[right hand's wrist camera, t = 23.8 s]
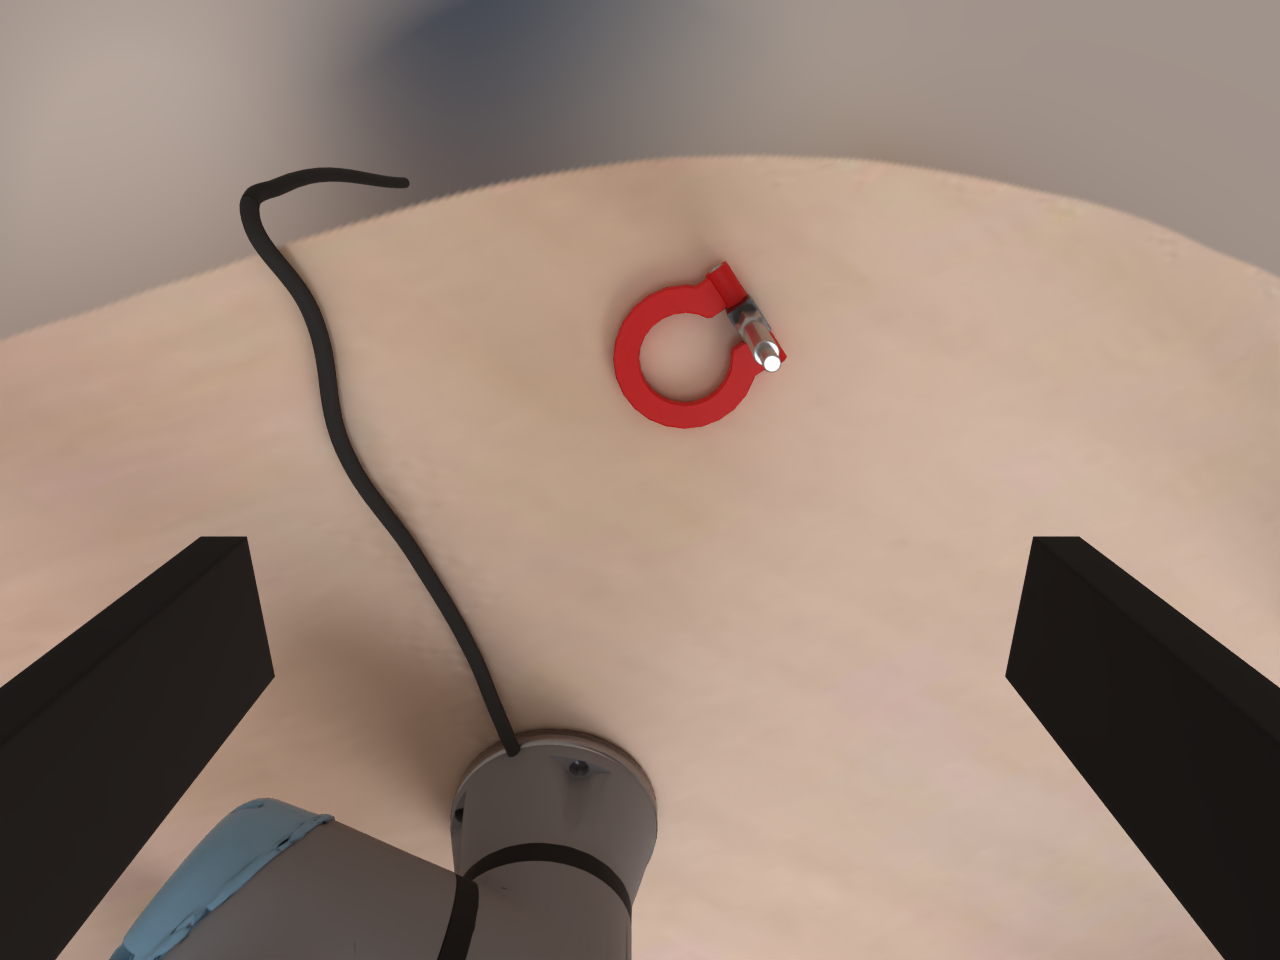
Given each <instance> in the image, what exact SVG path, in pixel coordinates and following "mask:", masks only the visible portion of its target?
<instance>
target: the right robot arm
mask: <svg viewBox="0 0 1280 960" xmlns="http://www.w3.org/2000/svg"><path fill="white" fill-rule="evenodd" d="M319 182H347V183H356V184H364V185H370V186H377V187H385V188H408V186H409V185H410V182H409V180H408V179H407V178H405V177H392V176H385V175H379V174H373V173H368V172H363V171H357V170H352V169H344V168H333V167H319V168H311V169H304V170H300V171H295V172H291V173H288V174H285V175H282V176H280V177H277V178H275V179H272V180H269V181H266V182H261V183H258V184H254V185H252V186H250V187H249V188H247V190H246V191H245V192H244V194H243V195H242V197H241V200H240V215H241V220H242V223H243V226H244V229H245V232H246V234H247V236H248V238H249V240H250V242H251V244H252V245H253V247H254V248H255V250H256V251H257V253H258V254H259V255H260V257H261V258H262V259H263V260H264V262H265V263H266V264H267V265H268V266H269V268H270V269H271V270H272V271H273V272H274V274H275V275H276V276H277V277H278V278H279V280H280V281H281V282H282V283H283V284H284V286H285V287H286V288H287V290H288V291H289V292H290V294H291V295H292V297H293V298H294V300H295V301H296V303H297V305H298V307H299V309H300V311H301V313H302V315H303V317H304V320H305V322H306V325H307V327H308V331H309V334H310V337H311V340H312V344H313V348H314V353H315V358H316V364H317V371H318V379H319V387H320V395H321V402H322V408H323V413H324V418H325V422H326V426H327V429H328V433H329V436H330V439H331V442H332V444H333V446H334V449H335V451H336V454H337V456H338V458H339V460H340V462H341V464H342V466H343V468H344V470H345V471H346V473H347V475H348V477H349V478H350V480H351V482H352V483H353V485H354V486H355V488H356V489H357V491H358V492H359V494H360V495H361V497H362V498H363V499H364V501H365V502H366V503H367V505H368V506H369V507H370V509H371V510H372V511H373V513H374V514H375V515H376V516H377V518H378V519H379V520H380V521H381V523H382V524H383V525H384V526H385V528H386V529H387V530H388V532H389V533H390V534H391V536H392V537H393V538H394V540H395V541H396V542H397V544H398V545H399V547H400V548H401V549H402V551H403V552H404V554H405V555H406V557H407V558H408V560H409V561H410V563H411V565H412V566H413V568H414V569H415V571H416V572H417V574H418V576H419V577H420V579H421V580H422V582H423V583H424V585H425V587H426V588H427V590H428V591H429V593H430V595H431V596H432V598H433V599H434V601H435V603H436V604H437V606H438V607H439V609H440V611H441V612H442V614H443V616H444V618H445V619H446V621H447V623H448V624H449V626H450V628H451V630H452V632H453V633H454V635H455V637H456V639H457V641H458V643H459V645H460V646H461V648H462V650H463V652H464V654H465V656H466V658H467V660H468V662H469V664H470V667H471V669H472V671H473V673H474V676H475V678H476V681H477V683H478V686H479V688H480V691H481V693H482V696H483V699H484V701H485V704H486V706H487V708H488V711H489V713H490V716H491V718H492V720H493V723H494V725H495V727H496V730H497V732H498V734H499V737H500V739H501V741H499V742H497V743H496V744H494V745H492V746H491V747H489V748H488V749H486V750H485V751H484V752H482V753H481V754H480V755H479V756H478V757H477V758H476V759H475V760H474V761H473V762H472V763H471V764H470V766H469V767H468V768H467V770H466V771H465V773H464V775H463V777H462V779H461V781H460V784H459V786H458V789H457V793H456V796H455V799H454V802H453V806H452V810H451V840H452V850H453V860H454V870H455V873H454V872H452V871H449V870H447V869H445V868H442V867H440V866H438V865H435V864H433V863H431V862H428V861H426V860H424V859H421V858H419V857H416V856H414V855H412V854H410V853H407V852H405V851H403V850H401V849H398V848H396V847H394V846H392V845H389V844H387V843H385V842H383V841H380V840H378V839H376V838H374V837H371V836H369V835H367V834H365V833H362V832H360V831H358V830H356V829H353V828H351V827H349V826H347V825H344V824H342V823H340V822H338V821H335V818H334V816H332V815H329V814H321V815H318V814H315V813H312V812H309V811H307V810H304V809H301V808H299V807H296V806H293V805H290V804H288V803H285V802H282V801H280V800H276V799H271V798H260V799H255V800H252V801H249V802H247V803H244V804H243V805H241V806H239V807H237V808H236V809H235V810H233V811H232V812H231V813H229V814H228V815H227V816H226V817H225V818H224V819H223V820H221V821H220V822H219V823H218V824H217V825H216V826H215V827H214V828H213V829H212V830H211V831H210V832H209V833H208V834H207V835H206V837H205V838H204V839H203V840H202V841H201V842H200V843H199V844H198V845H197V847H196V848H195V849H194V850H193V851H192V852H191V853H190V854H189V856H188V857H187V858H186V859H185V860H184V861H183V863H182V864H181V865H180V866H179V867H178V869H177V870H176V871H175V872H174V873H173V875H172V876H171V877H170V878H169V879H168V881H167V882H166V883H165V884H164V886H163V887H162V888H161V889H160V891H159V892H158V893H157V894H156V896H155V897H154V898H153V899H152V901H151V902H150V903H149V904H148V906H147V907H146V908H145V910H144V911H143V912H142V913H141V915H140V916H139V917H138V919H137V920H136V921H135V923H134V924H133V926H132V927H131V928H130V930H129V931H128V932H127V934H126V935H125V937H124V940H123V943H122V945H121V946H119V947H118V948H117V949H116V951H115V952H114V953H113V955H112V956H111V958H110V959H109V960H631V916H632V905H633V902H634V900H635V897H636V894H637V892H638V889H639V886H640V883H641V880H642V877H643V874H644V871H645V869H646V866H647V864H648V862H649V860H650V858H651V856H652V853H653V850H654V846H655V842H656V838H657V805H656V798H655V794H654V791H653V788H652V786H651V783H650V782H649V780H648V778H647V776H646V775H645V773H644V772H643V770H642V769H641V768H640V767H639V765H638V764H637V763H636V762H635V761H634V760H633V759H632V758H631V757H630V756H628V755H627V754H626V753H624V752H623V751H622V750H620V749H619V748H617V747H616V746H614V745H612V744H610V743H608V742H606V741H604V740H602V739H600V738H597V737H594V736H591V735H588V734H585V733H580V732H576V731H569V730H557V729H549V730H536V731H530V732H524V733H521V734H517V735H515V734H514V732H513V730H512V727H511V725H510V723H509V720H508V718H507V716H506V713H505V711H504V708H503V706H502V704H501V701H500V699H499V696H498V694H497V691H496V689H495V686H494V683H493V681H492V678H491V676H490V673H489V671H488V668H487V666H486V664H485V661H484V659H483V657H482V655H481V653H480V651H479V649H478V647H477V645H476V643H475V641H474V639H473V637H472V635H471V633H470V631H469V629H468V628H467V626H466V624H465V622H464V620H463V618H462V617H461V615H460V613H459V611H458V610H457V608H456V606H455V604H454V603H453V601H452V599H451V598H450V596H449V594H448V593H447V591H446V590H445V588H444V586H443V585H442V583H441V581H440V580H439V578H438V577H437V575H436V573H435V572H434V570H433V569H432V567H431V565H430V564H429V562H428V561H427V559H426V557H425V556H424V554H423V553H422V551H421V550H420V548H419V546H418V545H417V543H416V542H415V540H414V539H413V538H412V536H411V535H410V533H409V532H408V531H407V529H406V528H405V527H404V525H403V524H402V523H401V521H400V520H399V519H398V517H397V516H396V515H395V513H394V512H393V511H392V510H391V508H390V507H389V506H388V504H387V503H386V502H385V501H384V499H383V498H382V497H381V495H380V494H379V493H378V491H377V490H376V488H375V487H374V486H373V484H372V483H371V481H370V480H369V478H368V476H367V475H366V473H365V471H364V470H363V468H362V466H361V464H360V463H359V461H358V459H357V457H356V455H355V453H354V450H353V448H352V446H351V444H350V441H349V439H348V436H347V433H346V430H345V426H344V423H343V419H342V414H341V409H340V403H339V396H338V388H337V380H336V371H335V364H334V358H333V352H332V347H331V343H330V339H329V335H328V331H327V328H326V325H325V322H324V319H323V317H322V314H321V312H320V309H319V307H318V305H317V303H316V301H315V299H314V297H313V295H312V294H311V292H310V290H309V289H308V287H307V286H306V284H305V283H304V282H303V280H302V279H301V278H300V276H299V275H298V274H297V272H296V271H295V270H294V269H293V267H292V266H291V265H290V264H289V263H288V261H287V260H286V259H285V258H284V257H283V255H282V254H281V253H280V252H279V250H278V249H277V248H276V247H275V245H274V244H273V242H272V241H271V240H270V238H269V237H268V235H267V233H266V231H265V229H264V227H263V225H262V223H261V219H260V212H259V209H260V204H261V203H262V202H264V201H266V200H268V199H271V198H275V197H278V196H281V195H283V194H285V193H288V192H290V191H292V190H294V189H297V188H299V187H302V186H306V185H309V184H313V183H319ZM274 677H275V675H274V670H273V665H272V660H271V655H270V650H269V645H268V640H267V635H266V630H265V625H264V620H263V615H262V610H261V605H260V600H259V595H258V590H257V585H256V580H255V575H254V570H253V565H252V560H251V555H250V550H249V545H248V540H247V537H200V538H198V539H197V540H196V541H194V542H193V543H192V544H190V545H189V546H188V547H186V548H185V549H184V550H182V551H181V552H180V553H178V554H177V555H176V556H174V557H173V558H172V559H170V560H169V561H168V562H166V563H165V564H164V565H163V566H161V567H160V568H159V569H157V570H156V571H155V572H153V573H152V574H151V575H149V576H148V577H147V578H145V579H144V580H143V581H141V582H140V583H139V584H137V585H136V586H135V587H133V588H132V589H131V590H129V591H128V592H127V593H125V594H124V595H123V596H121V597H120V598H119V599H117V600H116V601H115V602H113V603H112V604H111V605H109V606H108V607H107V608H106V609H104V610H103V611H102V612H100V613H99V614H98V615H96V616H95V617H94V618H92V619H91V620H90V621H88V622H87V623H86V624H84V625H83V626H82V627H80V628H79V629H78V630H76V631H75V632H74V633H72V634H71V635H70V636H68V637H67V638H66V639H64V640H63V641H62V642H60V643H59V644H58V645H56V646H55V647H54V648H53V649H51V650H50V651H49V652H47V653H46V654H45V655H43V656H42V657H41V658H39V659H38V660H37V661H35V662H34V663H33V664H31V665H30V666H29V667H27V668H26V669H25V670H23V671H22V672H21V673H19V674H18V675H17V676H15V677H14V678H13V679H11V680H10V681H9V682H7V683H6V684H5V685H3V686H2V687H1V688H0V960H55V959H56V958H57V957H58V956H59V954H60V953H61V952H62V950H63V949H64V948H65V947H66V945H67V944H68V943H69V941H70V940H71V939H72V938H73V936H74V935H75V934H76V932H77V931H78V930H79V929H80V927H81V926H82V925H83V923H84V922H85V921H86V919H87V918H88V917H89V916H90V914H91V913H92V912H93V910H94V909H95V908H96V907H97V905H98V904H99V903H100V901H101V900H102V899H103V898H104V896H105V895H106V894H107V892H108V891H109V890H110V889H111V887H112V886H113V885H114V883H115V882H116V881H117V879H118V878H119V877H120V876H121V874H122V873H123V872H124V870H125V869H126V868H127V867H128V865H129V864H130V863H131V861H132V860H133V859H134V858H135V856H136V855H137V854H138V852H139V851H140V850H141V849H142V847H143V846H144V845H145V843H146V842H147V841H148V839H149V838H150V837H151V836H152V834H153V833H154V832H155V830H156V829H157V828H158V827H159V825H160V824H161V823H162V821H163V820H164V819H165V818H166V816H167V815H168V814H169V812H170V811H171V810H172V809H173V807H174V806H175V805H176V803H177V802H178V801H179V799H180V798H181V797H182V796H183V794H184V793H185V792H186V790H187V789H188V788H189V787H190V785H191V784H192V783H193V781H194V780H195V779H196V778H197V776H198V775H199V774H200V772H201V771H202V770H203V768H204V767H205V766H206V765H207V763H208V762H209V761H210V759H211V758H212V757H213V756H214V754H215V753H216V752H217V750H218V749H219V748H220V747H221V745H222V744H223V743H224V741H225V740H226V739H227V738H228V736H229V735H230V734H231V732H232V731H233V730H234V728H235V727H236V726H237V725H238V723H239V722H240V721H241V719H242V718H243V717H244V716H245V714H246V713H247V712H248V710H249V709H250V708H251V707H252V705H253V704H254V703H255V701H256V700H257V699H258V698H259V696H260V695H261V694H262V692H263V691H264V690H265V688H266V687H267V686H268V685H269V683H270V682H271V681H272V679H273V678H274ZM1005 677H1006V678H1007V679H1008V681H1009V682H1010V683H1011V685H1012V686H1013V687H1014V688H1015V690H1016V691H1017V692H1018V694H1019V695H1020V696H1021V698H1022V699H1023V700H1024V701H1025V703H1026V704H1027V705H1028V707H1029V708H1030V709H1031V710H1032V712H1033V713H1034V714H1035V716H1036V717H1037V718H1038V719H1039V721H1040V722H1041V723H1042V725H1043V726H1044V727H1045V728H1046V730H1047V731H1048V732H1049V734H1050V735H1051V736H1052V738H1053V739H1054V740H1055V741H1056V743H1057V744H1058V745H1059V747H1060V748H1061V749H1062V750H1063V752H1064V753H1065V754H1066V756H1067V757H1068V758H1069V759H1070V761H1071V762H1072V763H1073V765H1074V766H1075V767H1076V768H1077V770H1078V771H1079V772H1080V774H1081V775H1082V776H1083V778H1084V779H1085V780H1086V781H1087V783H1088V784H1089V785H1090V787H1091V788H1092V789H1093V790H1094V792H1095V793H1096V794H1097V796H1098V797H1099V798H1100V799H1101V801H1102V802H1103V803H1104V805H1105V806H1106V807H1107V809H1108V810H1109V811H1110V812H1111V814H1112V815H1113V816H1114V818H1115V819H1116V820H1117V821H1118V823H1119V824H1120V825H1121V827H1122V828H1123V829H1124V830H1125V832H1126V833H1127V834H1128V836H1129V837H1130V838H1131V839H1132V841H1133V842H1134V843H1135V845H1136V846H1137V847H1138V849H1139V850H1140V851H1141V852H1142V854H1143V855H1144V856H1145V858H1146V859H1147V860H1148V861H1149V863H1150V864H1151V865H1152V867H1153V868H1154V869H1155V870H1156V872H1157V873H1158V874H1159V876H1160V877H1161V878H1162V879H1163V881H1164V882H1165V883H1166V885H1167V886H1168V887H1169V889H1170V890H1171V891H1172V892H1173V894H1174V895H1175V896H1176V898H1177V899H1178V900H1179V901H1180V903H1181V904H1182V905H1183V907H1184V908H1185V909H1186V910H1187V912H1188V913H1189V914H1190V916H1191V917H1192V918H1193V919H1194V921H1195V922H1196V923H1197V925H1198V926H1199V927H1200V929H1201V930H1202V931H1203V932H1204V934H1205V935H1206V936H1207V938H1208V939H1209V940H1210V941H1211V943H1212V944H1213V945H1214V947H1215V948H1216V949H1217V950H1218V952H1219V953H1220V954H1221V956H1222V957H1223V958H1224V959H1225V960H1280V688H1279V687H1278V686H1277V685H1275V684H1274V683H1273V682H1271V681H1270V680H1269V679H1267V678H1266V677H1265V676H1263V675H1262V674H1261V673H1259V672H1258V671H1257V670H1255V669H1254V668H1253V667H1251V666H1250V665H1249V664H1247V663H1246V662H1245V661H1243V660H1242V659H1241V658H1239V657H1238V656H1237V655H1235V654H1234V653H1233V652H1231V651H1230V650H1229V649H1227V648H1226V647H1225V646H1224V645H1222V644H1221V643H1220V642H1218V641H1217V640H1216V639H1214V638H1213V637H1212V636H1210V635H1209V634H1208V633H1206V632H1205V631H1204V630H1202V629H1201V628H1200V627H1198V626H1197V625H1196V624H1194V623H1193V622H1192V621H1190V620H1189V619H1188V618H1186V617H1185V616H1184V615H1182V614H1181V613H1180V612H1178V611H1177V610H1176V609H1174V608H1173V607H1172V606H1171V605H1169V604H1168V603H1167V602H1165V601H1164V600H1163V599H1161V598H1160V597H1159V596H1157V595H1156V594H1155V593H1153V592H1152V591H1151V590H1149V589H1148V588H1147V587H1145V586H1144V585H1143V584H1141V583H1140V582H1139V581H1137V580H1136V579H1135V578H1133V577H1132V576H1131V575H1129V574H1128V573H1127V572H1125V571H1124V570H1123V569H1121V568H1120V567H1119V566H1117V565H1116V564H1115V563H1114V562H1112V561H1111V560H1110V559H1108V558H1107V557H1106V556H1104V555H1103V554H1102V553H1100V552H1099V551H1098V550H1096V549H1095V548H1094V547H1092V546H1091V545H1090V544H1088V543H1087V542H1086V541H1084V540H1083V539H1082V538H1080V537H1033V540H1032V545H1031V550H1030V555H1029V560H1028V565H1027V570H1026V575H1025V580H1024V585H1023V590H1022V595H1021V600H1020V605H1019V610H1018V615H1017V620H1016V625H1015V630H1014V635H1013V640H1012V645H1011V650H1010V655H1009V660H1008V665H1007V670H1006V675H1005Z"/></svg>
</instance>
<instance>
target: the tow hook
mask: <svg viewBox="0 0 1280 960" xmlns="http://www.w3.org/2000/svg"><path fill="white" fill-rule="evenodd" d="M725 308H726V312H727V315H728V317H729V319H730V320H731V322H732V323H733V325H734V326H735V328H736V329H737V331H738V333H739V334H740V336H741V337H742V339H743V340H744V341H742V342H741V343H739V344H738V345H736V346H735V347H733V348H732V351H731V362H730V368H729V371H728V373H727V375H726V377H725V380H724V381H723V382H722V384H721V385H720V386H719V387H718V388H717V390H715V391H714V392H712V393H711V394H710V395H708V396H707V397H704V398H702V399H699V400H697V401H690V402H680V401H672V400H670V399H668V398H665V397H663V396H661V395H660V394H658V393H657V392H656V391H654V390H653V389H652V388H651V387H650V385H649V384H648V383H647V381H646V380H645V378H644V376H643V373H642V371H641V367H640V360H639V354H640V347H641V344H642V342H643V340H644V337H645V335H646V334H647V333H648V332H649V330H650V329H651V328H652V326H654V325H655V324H656V323H658V322H659V321H660V320H662V319H663V318H666V317H668V316H671V315H673V314H680V313H692V314H699V315H701V316H703V317H706V318H712V317H713V316H715V315H716V314H718V313H719V312H721V311H722V310H724V309H725ZM786 357H787V356H786V354H785V353H784V351H783V350H782V348H781V347H780V345H779V343H778V342H777V340H776V339H775V337H774V336H773V334H772V332H771V328H770V326H769V324H768V323H767V321H766V320H765V318H764V317H763V315H762V313H761V312H760V310H759V309H758V307H757V306H756V304H755V302H754V301H753V299H752V298H751V296H750V295H749V294H747V293H746V292H745V290H744V289H743V287H742V286H741V284H740V282H739V281H738V279H737V278H736V276H735V275H734V273H733V272H732V270H731V268H730V267H729V265H728V264H727V262H723V263H720V264H718V265H717V266H715V267H714V268H713V269H711V270H710V271H709V272H708V273H707V275H706V279H705V280H703V281H702V282H701V283H699V284H698V285H696V286H693V285H680V286H672V287H666V288H664V289H662V290H659V291H657V292H655V293H652V294H650V295H648V296H647V297H646V298H645V299H643V300H642V301H641V302H640V303H638V304H637V305H636V306H634V308H633V309H632V310H631V312H630V313H629V314H628V316H627V317H626V318H625V320H624V321H623V323H622V326H621V328H620V331H619V333H618V336H617V338H616V341H615V349H614V358H613V361H614V367H615V374H616V379H617V381H618V383H619V386H620V388H621V390H622V392H623V395H624V396H625V397H626V398H627V400H628V401H629V402H630V403H631V405H632V406H633V407H634V408H635V409H636V410H637V411H639V412H640V413H641V414H643V415H644V416H645V417H647V418H648V419H649V420H652V421H654V422H657V423H659V424H662V425H664V426H668V427H676V428H683V429H685V428H694V427H702V426H705V425H707V424H710V423H713V422H715V421H718V420H720V419H721V418H723V417H724V416H725V415H727V414H728V413H730V412H731V411H733V410H734V409H735V408H736V407H737V405H738V404H739V403H740V402H741V401H742V400H743V398H744V397H745V396H746V394H747V392H748V390H749V388H750V386H751V384H752V382H753V380H754V377H755V375H757V374H758V373H760V372H762V371H763V370H766V371H768V372H775V371H777V370H778V369H779V368H780V366H781V363H782V362H783V361H784V360H785V359H786Z"/></svg>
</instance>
